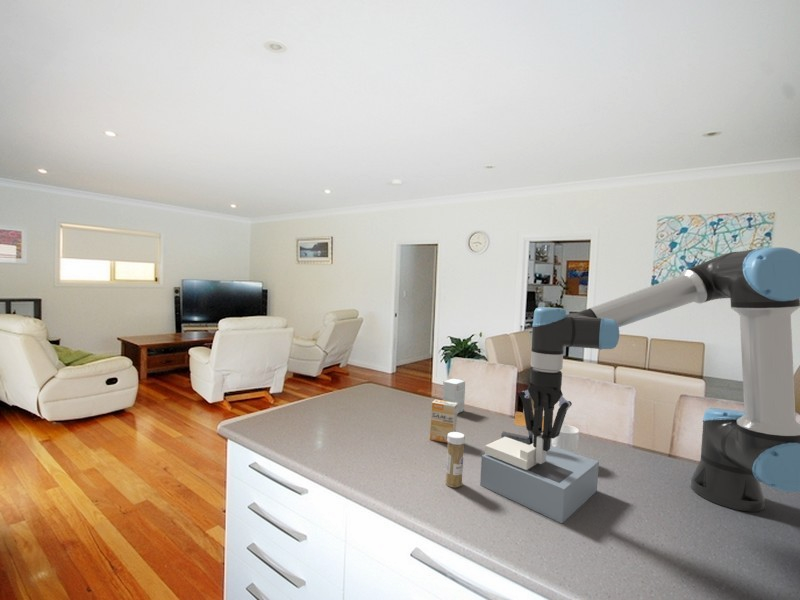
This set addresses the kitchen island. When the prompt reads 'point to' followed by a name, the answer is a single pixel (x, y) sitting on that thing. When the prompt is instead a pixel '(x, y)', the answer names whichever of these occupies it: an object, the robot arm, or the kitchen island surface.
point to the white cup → (567, 438)
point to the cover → (512, 452)
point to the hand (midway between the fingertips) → (540, 461)
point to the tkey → (520, 421)
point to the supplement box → (443, 419)
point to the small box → (454, 392)
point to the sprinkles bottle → (454, 459)
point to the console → (544, 482)
